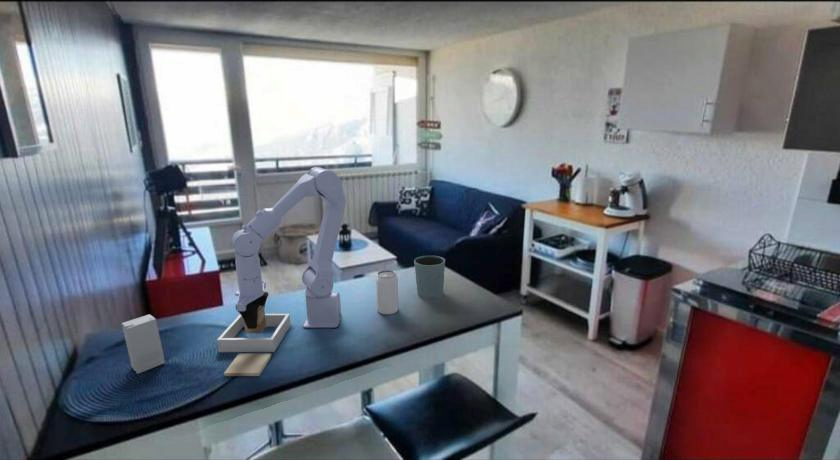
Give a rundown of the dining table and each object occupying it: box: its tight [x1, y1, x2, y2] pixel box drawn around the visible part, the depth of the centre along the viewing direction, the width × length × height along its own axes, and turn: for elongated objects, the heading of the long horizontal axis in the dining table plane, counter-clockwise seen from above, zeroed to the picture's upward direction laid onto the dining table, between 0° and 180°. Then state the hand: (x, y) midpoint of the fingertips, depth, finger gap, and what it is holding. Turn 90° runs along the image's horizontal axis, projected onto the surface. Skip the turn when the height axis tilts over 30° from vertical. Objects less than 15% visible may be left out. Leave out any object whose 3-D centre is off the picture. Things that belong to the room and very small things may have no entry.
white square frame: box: [216, 313, 292, 353], centre depth 111 cm, size 14×14×4 cm
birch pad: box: [223, 353, 272, 377], centre depth 99 cm, size 8×8×1 cm
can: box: [375, 269, 399, 316], centre depth 125 cm, size 6×6×12 cm
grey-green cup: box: [413, 255, 446, 300], centre depth 137 cm, size 10×10×12 cm
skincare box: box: [121, 314, 166, 375], centre depth 97 cm, size 6×4×12 cm
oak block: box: [244, 306, 267, 334], centre depth 110 cm, size 4×4×6 cm
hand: (255, 323), depth 110 cm, fingers closed on oak block, 4 cm apart
